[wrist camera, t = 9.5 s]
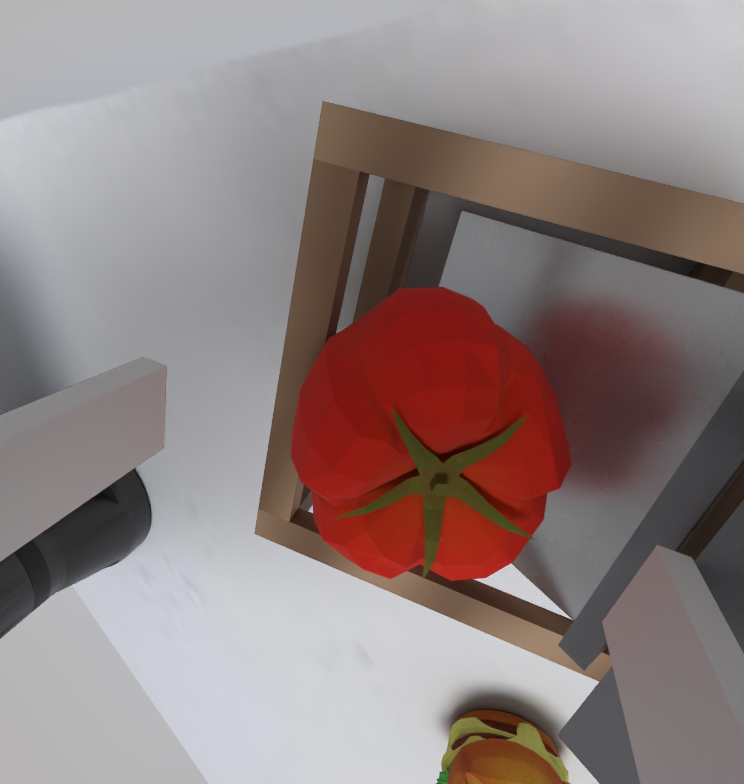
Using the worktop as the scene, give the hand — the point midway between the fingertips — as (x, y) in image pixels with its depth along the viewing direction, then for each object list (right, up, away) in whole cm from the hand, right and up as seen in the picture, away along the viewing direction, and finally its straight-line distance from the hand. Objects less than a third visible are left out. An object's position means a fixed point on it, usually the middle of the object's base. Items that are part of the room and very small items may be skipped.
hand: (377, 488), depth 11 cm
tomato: (+2, +3, +7) cm, 8 cm away
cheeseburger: (+12, -28, +27) cm, 41 cm away
